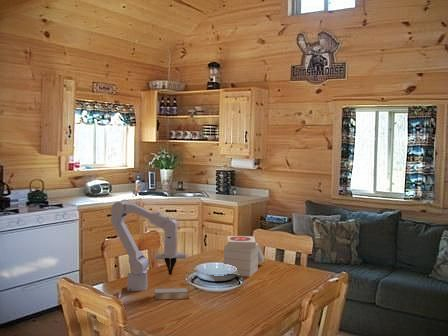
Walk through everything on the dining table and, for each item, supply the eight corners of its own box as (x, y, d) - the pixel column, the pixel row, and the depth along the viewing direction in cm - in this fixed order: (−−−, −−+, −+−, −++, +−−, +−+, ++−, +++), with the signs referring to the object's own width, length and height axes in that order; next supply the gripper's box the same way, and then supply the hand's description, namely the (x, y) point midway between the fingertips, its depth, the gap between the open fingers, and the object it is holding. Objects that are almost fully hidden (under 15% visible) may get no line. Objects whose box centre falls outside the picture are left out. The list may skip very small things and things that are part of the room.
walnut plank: (155, 302, 209) (155, 299, 209) (154, 296, 217) (154, 293, 217) (189, 301, 211) (189, 298, 211) (187, 295, 220) (187, 292, 220)
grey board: (154, 296, 218) (154, 293, 218) (154, 292, 224) (154, 288, 224) (187, 295, 220) (187, 292, 220) (186, 291, 226) (186, 288, 226)
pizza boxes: (267, 264, 277) (268, 233, 276) (252, 278, 249) (253, 244, 248) (236, 260, 284) (237, 230, 282) (218, 273, 256) (218, 240, 254)
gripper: (154, 247, 215) (154, 277, 216) (187, 247, 218) (186, 276, 219) (154, 244, 222) (154, 272, 223) (185, 243, 225) (185, 271, 225)
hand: (170, 274), depth 221 cm, fingers closed
